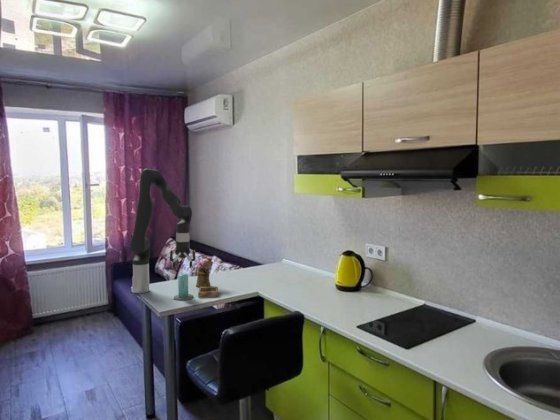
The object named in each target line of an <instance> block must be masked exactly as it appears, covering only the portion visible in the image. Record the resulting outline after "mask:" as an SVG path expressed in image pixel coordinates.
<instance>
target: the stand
mask: <svg viewBox="0 0 560 420" xmlns="http://www.w3.org/2000/svg"><path fill="white" fill-rule="evenodd" d="M197 293H198V294H197V296H198V298H218V296H219V295H218V293H219V287H218V286H209V287H200V288H199V287H198V292H197Z"/></svg>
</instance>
